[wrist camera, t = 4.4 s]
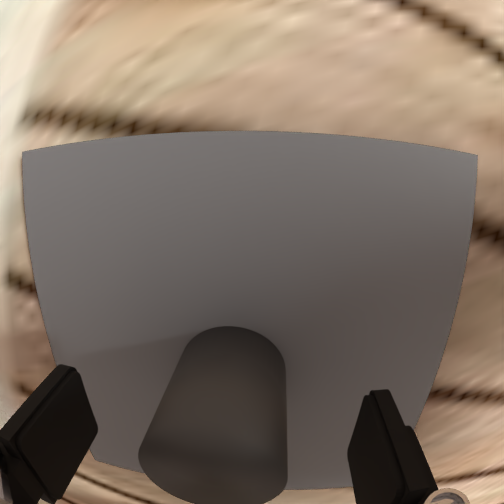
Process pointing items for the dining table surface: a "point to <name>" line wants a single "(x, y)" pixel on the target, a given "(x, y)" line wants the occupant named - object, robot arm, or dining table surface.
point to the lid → (246, 295)
